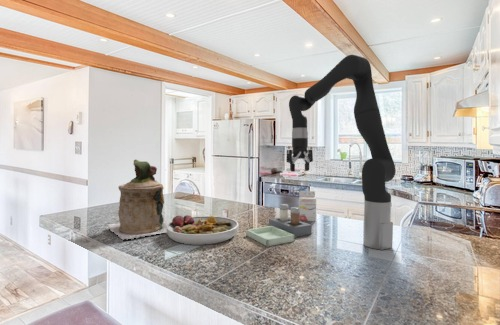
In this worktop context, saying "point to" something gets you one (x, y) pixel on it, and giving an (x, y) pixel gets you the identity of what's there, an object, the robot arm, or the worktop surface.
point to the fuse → (284, 212)
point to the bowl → (201, 229)
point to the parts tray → (270, 235)
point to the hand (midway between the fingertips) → (299, 171)
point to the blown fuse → (295, 216)
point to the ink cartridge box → (307, 206)
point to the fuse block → (291, 227)
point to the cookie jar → (140, 205)
